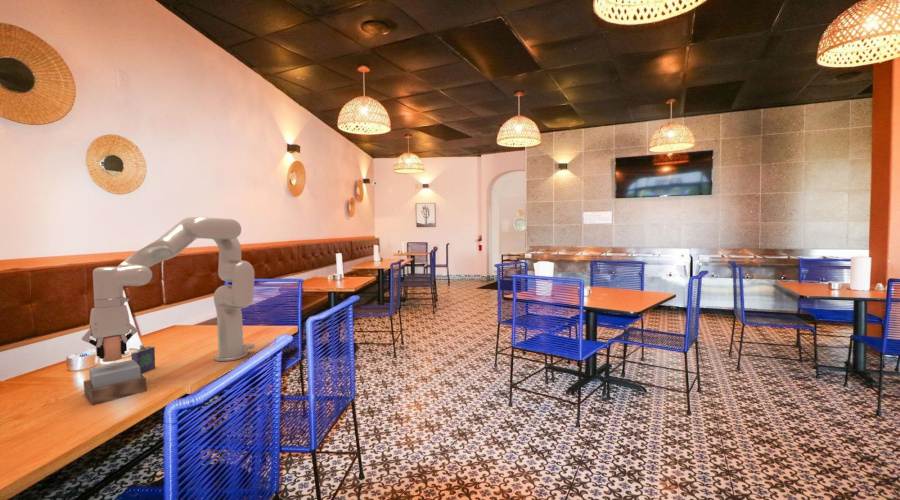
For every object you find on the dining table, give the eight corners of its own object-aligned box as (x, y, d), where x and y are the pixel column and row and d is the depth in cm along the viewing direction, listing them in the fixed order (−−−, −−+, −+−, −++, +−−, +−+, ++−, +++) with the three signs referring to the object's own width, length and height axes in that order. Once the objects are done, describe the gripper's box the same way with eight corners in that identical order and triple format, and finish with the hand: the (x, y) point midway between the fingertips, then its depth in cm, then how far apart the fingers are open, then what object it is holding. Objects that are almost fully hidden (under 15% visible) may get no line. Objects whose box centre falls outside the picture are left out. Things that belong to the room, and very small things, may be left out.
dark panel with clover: (136, 376, 151) (134, 348, 150) (129, 375, 151) (127, 348, 150) (157, 367, 160) (155, 341, 159) (151, 367, 160) (149, 341, 160)
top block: (134, 370, 144) (133, 359, 143) (140, 378, 135) (140, 366, 135) (89, 379, 135) (89, 368, 135) (93, 389, 127) (93, 376, 127)
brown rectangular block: (119, 356, 138) (118, 333, 138) (123, 359, 135) (122, 335, 134) (101, 359, 134) (99, 336, 134) (104, 362, 131) (103, 339, 131)
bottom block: (136, 382, 145) (135, 369, 145) (146, 392, 136) (145, 377, 136) (84, 395, 134) (83, 381, 134) (92, 406, 125) (91, 391, 125)
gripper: (137, 298, 143) (140, 348, 143) (73, 305, 129) (76, 360, 130) (143, 300, 138) (145, 351, 139) (77, 308, 125) (80, 364, 126)
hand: (112, 355), depth 134 cm, fingers closed on brown rectangular block, 5 cm apart
